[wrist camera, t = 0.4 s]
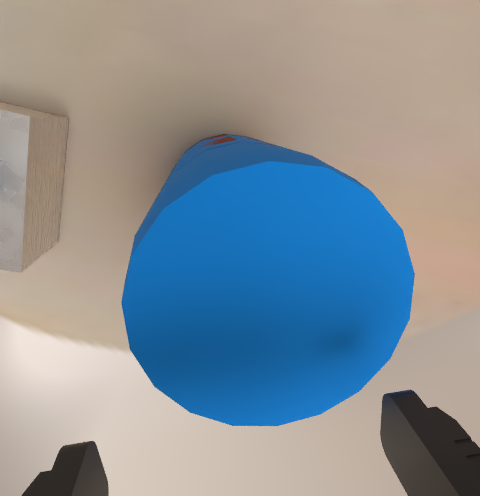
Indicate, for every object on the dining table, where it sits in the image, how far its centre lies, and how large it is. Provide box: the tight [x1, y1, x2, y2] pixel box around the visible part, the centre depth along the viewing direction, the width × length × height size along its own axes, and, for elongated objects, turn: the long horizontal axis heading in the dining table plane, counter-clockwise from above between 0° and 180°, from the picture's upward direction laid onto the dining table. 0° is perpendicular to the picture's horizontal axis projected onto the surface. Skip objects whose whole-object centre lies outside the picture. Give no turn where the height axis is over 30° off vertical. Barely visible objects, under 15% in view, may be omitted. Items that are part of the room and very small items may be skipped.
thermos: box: [122, 134, 415, 426], centre depth 25 cm, size 11×11×25 cm
